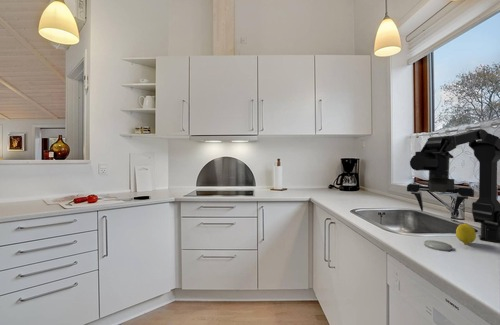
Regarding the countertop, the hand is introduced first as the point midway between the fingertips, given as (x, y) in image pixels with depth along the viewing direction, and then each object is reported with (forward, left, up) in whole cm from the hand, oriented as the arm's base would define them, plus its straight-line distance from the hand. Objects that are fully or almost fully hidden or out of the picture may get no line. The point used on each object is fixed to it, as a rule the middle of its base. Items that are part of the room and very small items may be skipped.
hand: (437, 213), depth 86 cm
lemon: (-10, +8, -13) cm, 18 cm away
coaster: (0, 0, -12) cm, 12 cm away
